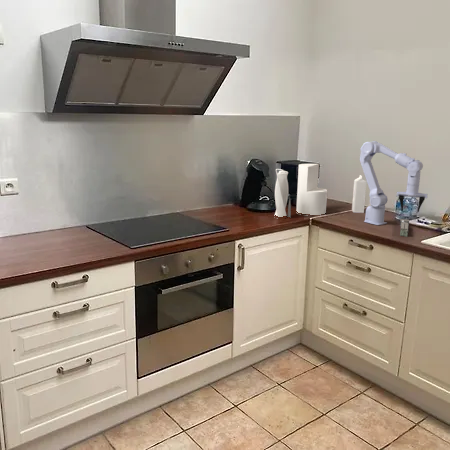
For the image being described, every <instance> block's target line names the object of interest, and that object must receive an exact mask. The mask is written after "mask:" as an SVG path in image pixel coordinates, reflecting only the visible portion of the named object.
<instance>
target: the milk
mask: <svg viewBox="0 0 450 450" xmlns="http://www.w3.org/2000/svg"><path fill="white" fill-rule="evenodd" d="M367 184H368V183H367V180H366V179H364V178H363V175H361V174H359V176H358V177H357V178H355V179H354V180H353V189H352V190H353V191H352V192H353V193H352V203H351V211H352V212H353V213H358V214H364V213H365V204H366V195H367V194H366V193H367Z"/></svg>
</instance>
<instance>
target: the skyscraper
mask: <svg viewBox="0 0 450 450" xmlns="http://www.w3.org/2000/svg"><path fill="white" fill-rule="evenodd" d="M275 173H276V181H275V187H274V200H275V201H274V203H275V209H276V210H275V212H274V216H275V215H276V216H278V217H283V216H287V217H290V218H292V217H291V215H292V213H291V212H292V211H291V209H292V208H291V207H292V204H291V199H289V182H288V174H289V172H288V171H286V170H284V169H281V168H276V169H275ZM288 199H289V200H288ZM287 203H288V204H287ZM287 205H288V206H287ZM286 207H287V212H286Z"/></svg>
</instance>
